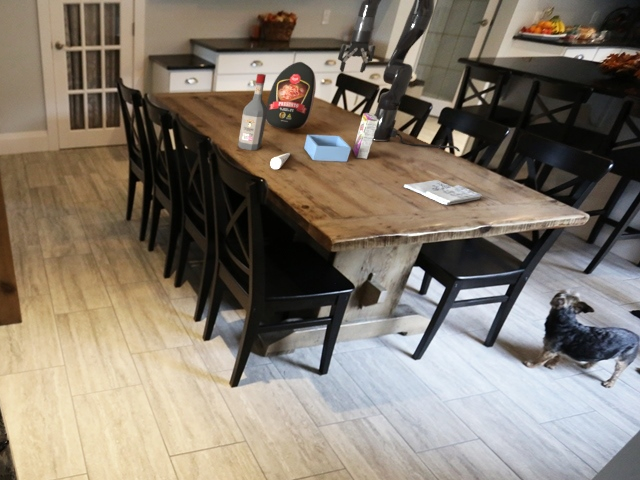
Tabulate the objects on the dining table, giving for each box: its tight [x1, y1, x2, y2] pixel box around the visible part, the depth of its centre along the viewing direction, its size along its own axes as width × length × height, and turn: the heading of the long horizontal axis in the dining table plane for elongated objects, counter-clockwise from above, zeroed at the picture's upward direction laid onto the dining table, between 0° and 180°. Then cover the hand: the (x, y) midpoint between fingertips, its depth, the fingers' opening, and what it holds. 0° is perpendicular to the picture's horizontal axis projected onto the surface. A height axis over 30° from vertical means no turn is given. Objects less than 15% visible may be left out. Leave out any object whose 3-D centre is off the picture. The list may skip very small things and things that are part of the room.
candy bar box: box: [352, 112, 379, 160], centre depth 218 cm, size 11×5×16 cm, turn 168°
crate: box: [303, 134, 352, 163], centre depth 220 cm, size 15×18×6 cm
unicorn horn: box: [269, 152, 291, 171], centre depth 211 cm, size 5×24×5 cm, turn 147°
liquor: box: [237, 73, 267, 151], centre depth 219 cm, size 9×9×30 cm
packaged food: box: [265, 61, 317, 131], centre depth 246 cm, size 22×20×30 cm
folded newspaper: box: [403, 179, 484, 206], centre depth 187 cm, size 19×20×2 cm
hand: (351, 72), depth 219 cm, fingers open, 8 cm apart
